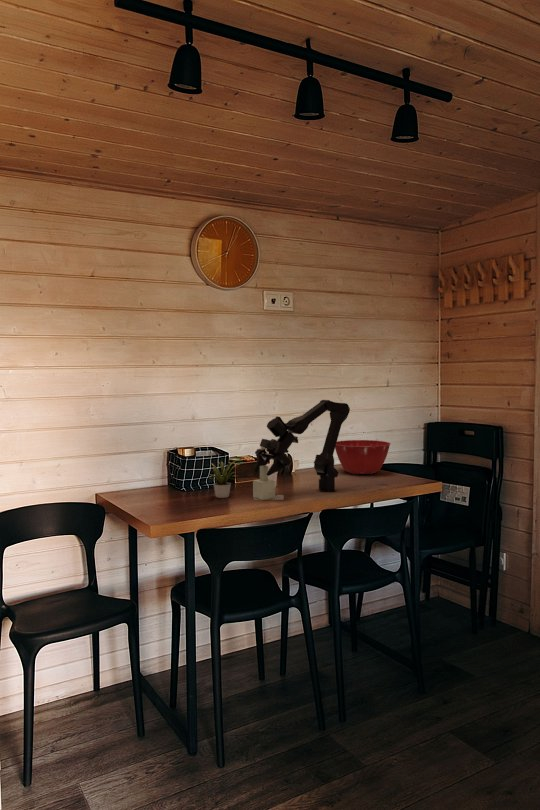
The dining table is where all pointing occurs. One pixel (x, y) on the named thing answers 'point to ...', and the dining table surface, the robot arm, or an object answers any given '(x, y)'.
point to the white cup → (272, 476)
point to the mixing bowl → (362, 455)
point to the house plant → (222, 480)
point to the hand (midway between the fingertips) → (260, 473)
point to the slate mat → (277, 497)
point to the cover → (263, 485)
